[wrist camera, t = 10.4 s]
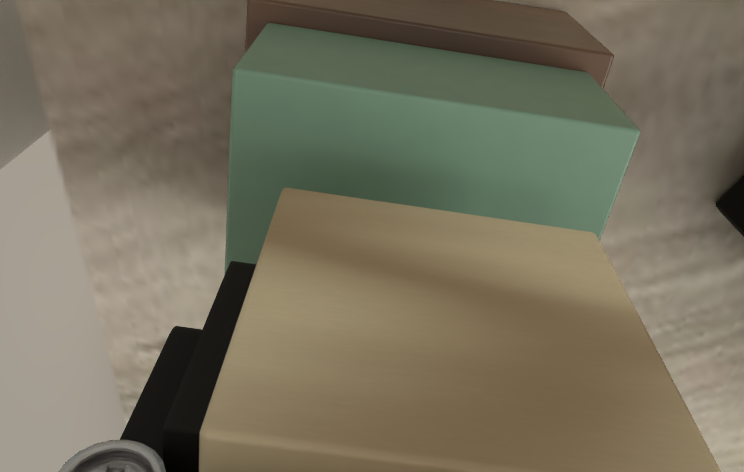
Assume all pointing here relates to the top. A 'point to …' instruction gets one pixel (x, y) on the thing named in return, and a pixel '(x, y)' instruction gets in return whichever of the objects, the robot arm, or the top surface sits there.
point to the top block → (417, 133)
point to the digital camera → (734, 205)
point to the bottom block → (447, 28)
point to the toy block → (439, 351)
